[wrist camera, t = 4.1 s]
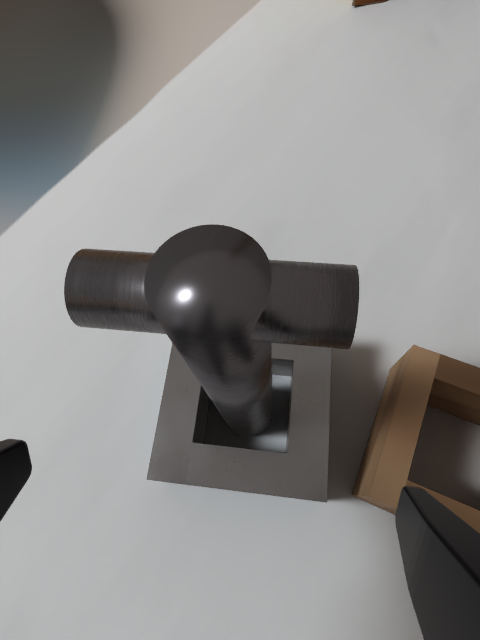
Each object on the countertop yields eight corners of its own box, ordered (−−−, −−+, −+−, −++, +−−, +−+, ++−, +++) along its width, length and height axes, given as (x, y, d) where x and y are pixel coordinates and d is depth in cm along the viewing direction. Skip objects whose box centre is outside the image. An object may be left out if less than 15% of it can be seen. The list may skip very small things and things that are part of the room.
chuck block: (319, 500, 20) (327, 502, 17) (163, 481, 21) (146, 479, 18) (324, 348, 23) (332, 329, 20) (188, 336, 24) (177, 316, 21)
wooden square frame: (500, 562, 18) (557, 580, 15) (351, 495, 20) (369, 496, 16) (525, 418, 21) (580, 403, 17) (390, 368, 22) (413, 344, 19)
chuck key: (304, 393, 22) (359, 232, 8) (302, 442, 21) (358, 351, 7) (197, 382, 23) (83, 217, 9) (190, 429, 22) (49, 325, 8)
